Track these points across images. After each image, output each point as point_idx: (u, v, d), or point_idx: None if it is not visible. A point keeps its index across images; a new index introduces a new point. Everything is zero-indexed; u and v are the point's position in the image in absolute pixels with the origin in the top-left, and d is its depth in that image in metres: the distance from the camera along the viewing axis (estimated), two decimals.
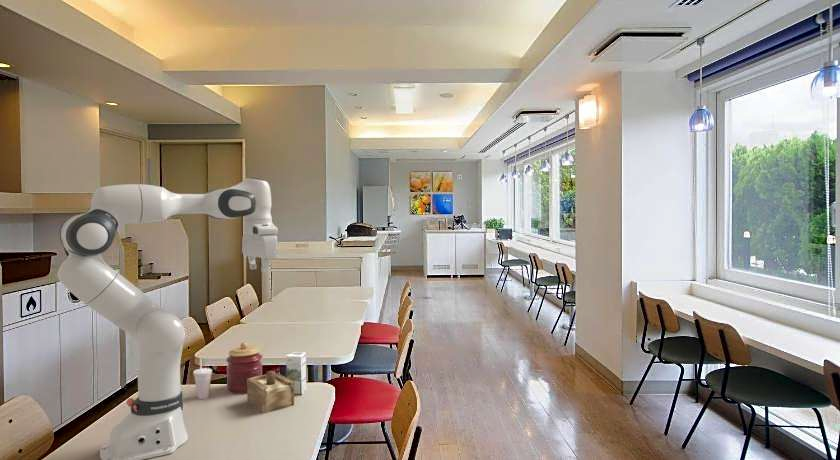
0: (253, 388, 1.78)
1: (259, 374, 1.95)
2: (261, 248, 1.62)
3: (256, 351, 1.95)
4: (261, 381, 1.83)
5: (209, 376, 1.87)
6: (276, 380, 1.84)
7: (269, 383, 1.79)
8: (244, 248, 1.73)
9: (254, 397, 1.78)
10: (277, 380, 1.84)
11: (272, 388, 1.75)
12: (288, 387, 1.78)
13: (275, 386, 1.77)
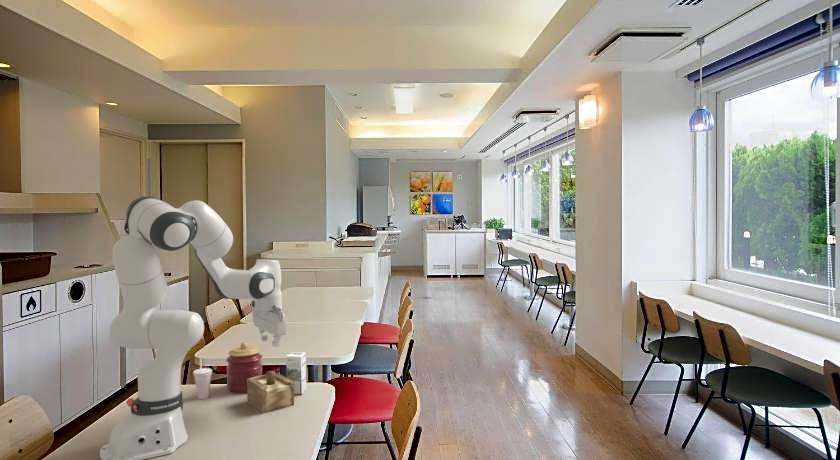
0: (253, 388, 1.78)
1: (259, 374, 1.95)
2: None
3: (256, 351, 1.95)
4: (261, 381, 1.83)
5: (209, 376, 1.87)
6: (276, 380, 1.84)
7: (269, 383, 1.79)
8: None
9: (254, 397, 1.78)
10: (277, 380, 1.84)
11: (272, 388, 1.75)
12: (288, 387, 1.78)
13: (275, 386, 1.77)
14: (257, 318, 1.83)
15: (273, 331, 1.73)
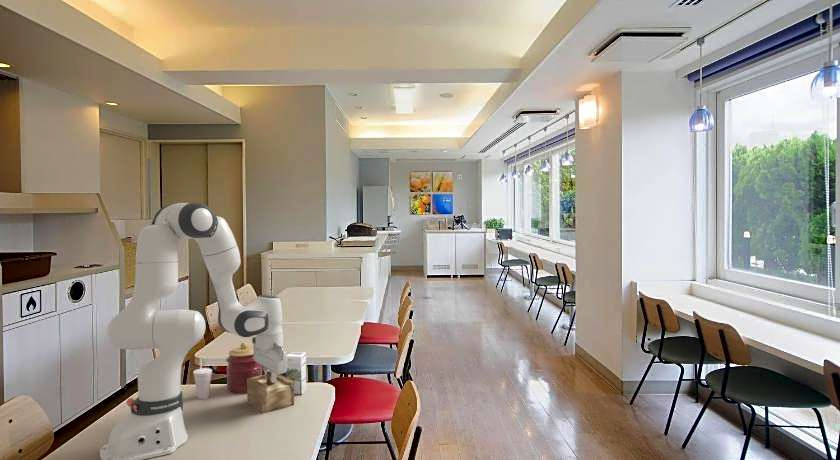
0: (253, 388, 1.78)
1: (259, 374, 1.95)
2: None
3: None
4: (261, 381, 1.83)
5: (209, 376, 1.87)
6: (276, 380, 1.84)
7: (269, 383, 1.79)
8: None
9: (254, 397, 1.78)
10: (277, 380, 1.84)
11: (272, 388, 1.75)
12: (288, 387, 1.78)
13: (275, 386, 1.77)
14: (258, 354, 1.84)
15: (274, 369, 1.73)
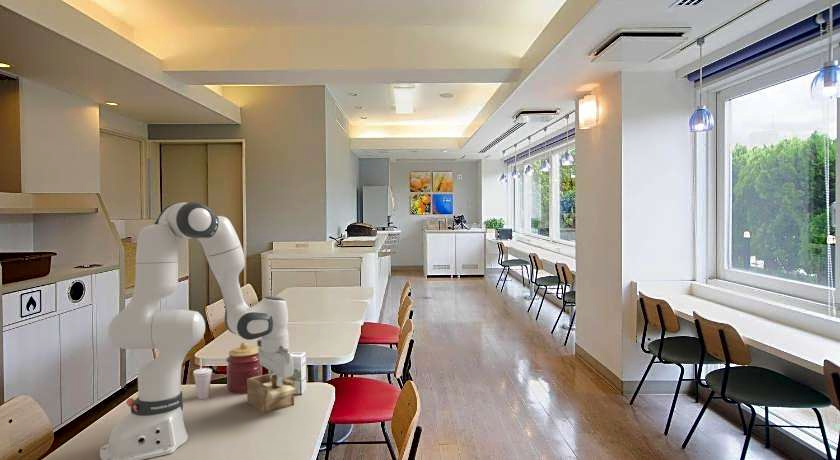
0: (253, 388, 1.78)
1: (259, 374, 1.95)
2: None
3: (256, 351, 1.95)
4: (266, 384, 1.79)
5: (209, 376, 1.87)
6: (282, 383, 1.80)
7: (275, 387, 1.75)
8: None
9: (254, 397, 1.78)
10: (282, 383, 1.80)
11: (278, 392, 1.72)
12: (294, 391, 1.74)
13: (281, 390, 1.74)
14: (263, 357, 1.80)
15: (280, 373, 1.70)
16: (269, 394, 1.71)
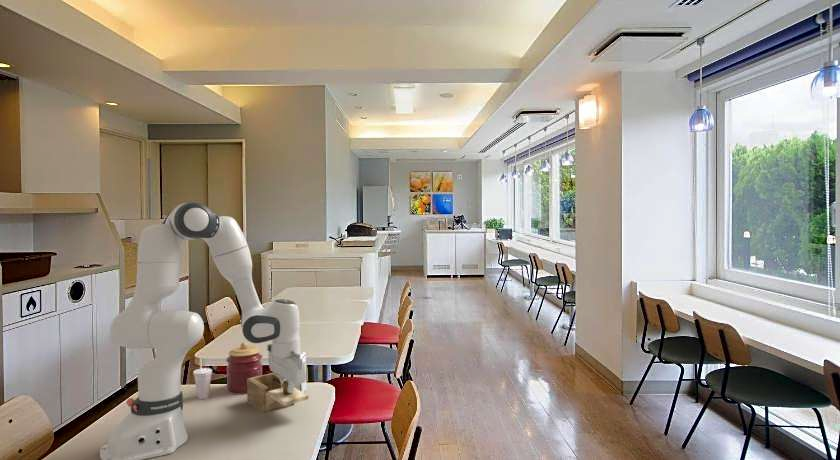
0: (253, 388, 1.78)
1: (259, 374, 1.95)
2: None
3: (256, 351, 1.95)
4: (277, 391, 1.73)
5: (209, 376, 1.87)
6: None
7: (286, 393, 1.69)
8: None
9: (254, 397, 1.78)
10: (294, 389, 1.74)
11: (290, 399, 1.65)
12: (306, 397, 1.68)
13: (292, 396, 1.67)
14: (273, 363, 1.73)
15: (292, 379, 1.63)
16: (280, 401, 1.65)
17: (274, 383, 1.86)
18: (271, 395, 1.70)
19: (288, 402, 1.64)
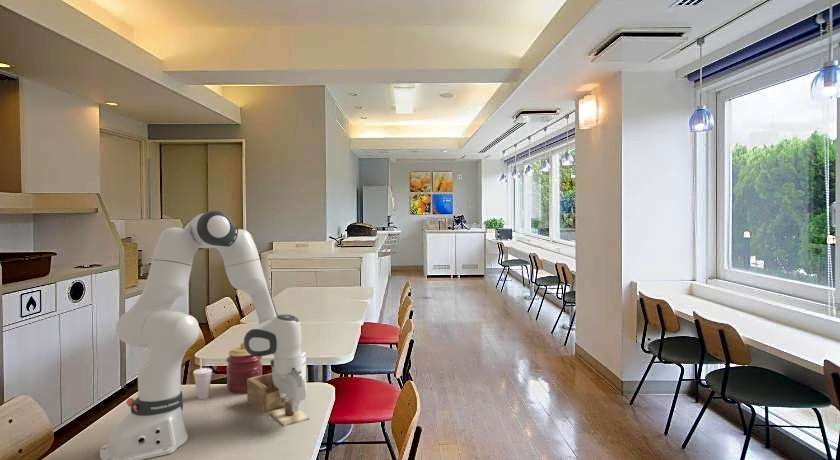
0: (253, 388, 1.78)
1: (259, 374, 1.95)
2: None
3: None
4: (280, 411, 1.72)
5: (209, 376, 1.87)
6: None
7: (287, 414, 1.68)
8: None
9: (254, 397, 1.78)
10: None
11: (290, 420, 1.65)
12: (307, 419, 1.67)
13: (293, 418, 1.66)
14: (276, 378, 1.73)
15: (292, 396, 1.62)
16: (281, 423, 1.64)
17: None
18: (273, 415, 1.70)
19: (288, 424, 1.63)
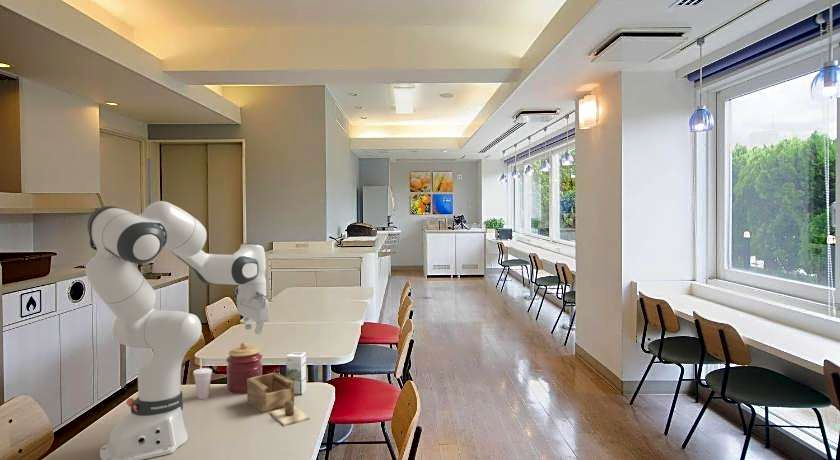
0: (253, 388, 1.78)
1: (259, 374, 1.95)
2: None
3: (256, 351, 1.95)
4: (280, 411, 1.72)
5: (209, 376, 1.87)
6: (295, 410, 1.73)
7: (287, 414, 1.68)
8: None
9: (254, 397, 1.78)
10: (296, 410, 1.73)
11: (290, 420, 1.65)
12: (307, 419, 1.67)
13: (293, 418, 1.66)
14: (241, 306, 1.79)
15: (255, 318, 1.69)
16: (281, 423, 1.64)
17: (274, 383, 1.86)
18: (273, 415, 1.70)
19: (288, 424, 1.63)
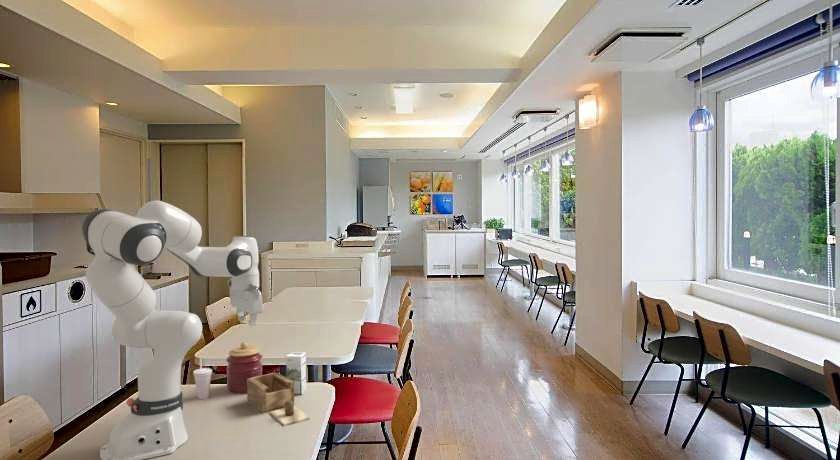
0: (253, 388, 1.78)
1: (259, 374, 1.95)
2: None
3: (256, 351, 1.95)
4: (279, 411, 1.72)
5: (209, 376, 1.87)
6: (295, 410, 1.73)
7: (288, 414, 1.68)
8: None
9: (254, 397, 1.78)
10: (296, 410, 1.73)
11: (290, 420, 1.65)
12: (307, 419, 1.67)
13: (293, 418, 1.66)
14: (234, 298, 1.80)
15: (249, 309, 1.70)
16: None
17: (274, 383, 1.86)
18: (273, 415, 1.70)
19: (288, 424, 1.63)
